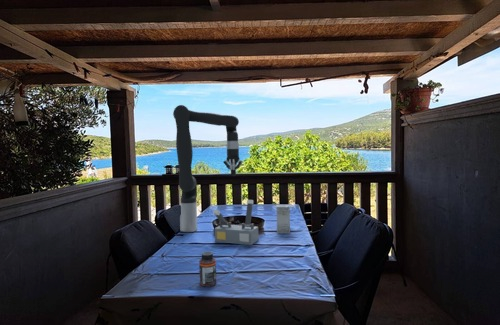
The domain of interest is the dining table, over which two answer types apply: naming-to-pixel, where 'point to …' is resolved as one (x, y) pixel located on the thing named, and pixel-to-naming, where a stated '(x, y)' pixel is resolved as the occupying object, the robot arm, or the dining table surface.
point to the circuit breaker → (283, 219)
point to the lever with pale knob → (220, 217)
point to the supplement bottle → (207, 269)
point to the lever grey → (248, 213)
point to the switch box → (236, 234)
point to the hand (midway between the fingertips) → (233, 175)
